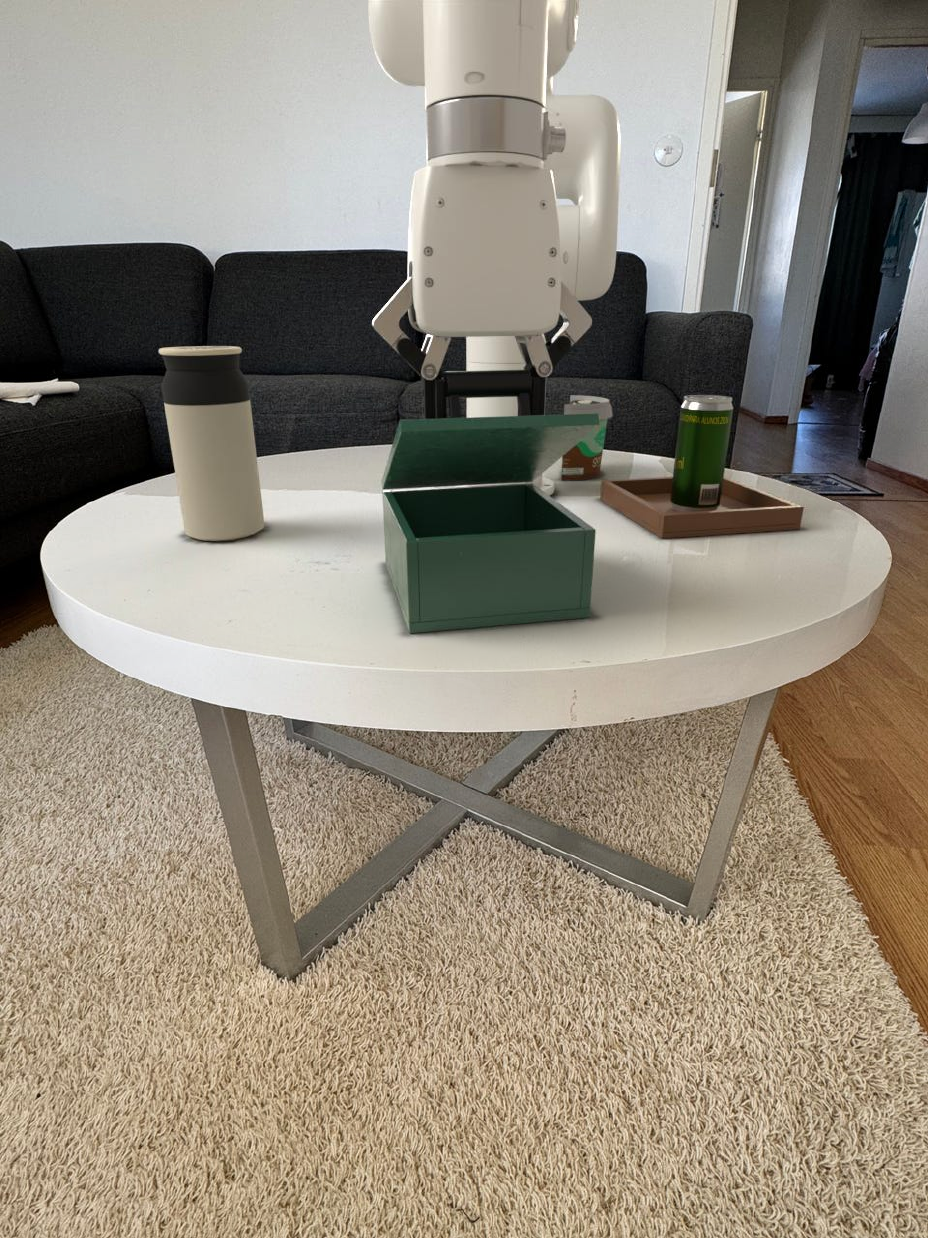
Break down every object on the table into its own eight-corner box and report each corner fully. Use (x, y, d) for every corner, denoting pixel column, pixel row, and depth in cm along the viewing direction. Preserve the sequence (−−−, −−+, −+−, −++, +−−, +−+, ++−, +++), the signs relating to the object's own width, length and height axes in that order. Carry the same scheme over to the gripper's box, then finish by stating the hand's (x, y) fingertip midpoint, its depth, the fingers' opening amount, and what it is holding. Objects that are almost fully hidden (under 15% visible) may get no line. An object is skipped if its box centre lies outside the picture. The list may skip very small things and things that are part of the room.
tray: (599, 499, 87) (601, 480, 86) (717, 493, 90) (719, 474, 89) (661, 538, 72) (664, 515, 71) (800, 529, 75) (804, 506, 74)
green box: (589, 617, 54) (596, 529, 51) (409, 633, 51) (406, 541, 49) (529, 554, 68) (532, 482, 65) (385, 564, 65) (382, 490, 63)
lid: (599, 424, 49) (592, 352, 49) (400, 431, 46) (393, 355, 46) (532, 482, 65) (527, 427, 65) (382, 489, 62) (377, 432, 63)
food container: (607, 484, 95) (613, 405, 91) (560, 482, 96) (564, 404, 92) (608, 466, 106) (614, 395, 102) (566, 464, 107) (570, 394, 103)
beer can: (729, 511, 80) (746, 398, 75) (692, 516, 78) (706, 401, 73) (695, 500, 84) (709, 393, 79) (659, 505, 82) (670, 396, 77)
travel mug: (280, 526, 77) (261, 346, 70) (229, 546, 70) (202, 350, 63) (222, 518, 80) (198, 345, 73) (168, 536, 73) (136, 348, 66)
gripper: (592, 160, 51) (577, 421, 58) (345, 153, 48) (362, 430, 55) (636, 139, 44) (612, 437, 51) (352, 128, 41) (370, 448, 48)
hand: (483, 431), depth 53 cm, fingers closed on lid, 6 cm apart
